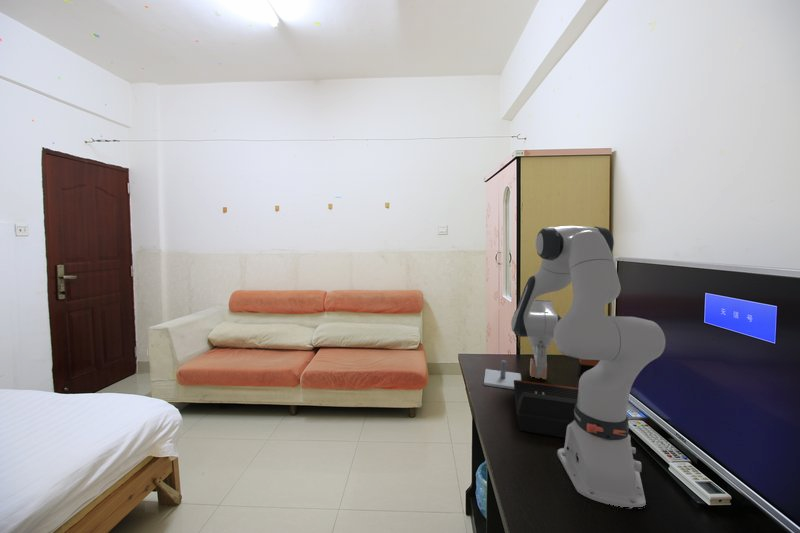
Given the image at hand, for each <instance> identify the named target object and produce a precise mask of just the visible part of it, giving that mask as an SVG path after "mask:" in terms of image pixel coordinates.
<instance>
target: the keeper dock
mask: <svg viewBox="0 0 800 533" xmlns="http://www.w3.org/2000/svg"><path fill="white" fill-rule="evenodd" d="M483 380H484V381H483V386H488V387H495V388H502V389H509V390H514V380H520V381H522V374H521V373H520V372H519V373H518V372H512V371H507V360H504V359H502V360H500V370H498V369H489V368H485V371H484V379H483Z"/></svg>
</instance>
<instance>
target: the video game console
mask: <svg viewBox="0 0 800 533" xmlns="http://www.w3.org/2000/svg"><path fill="white" fill-rule="evenodd" d="M513 390H514V400H515V401H514V402H515V403H514V404H515V411H516V412H515V415H516V419H517V425H518V429H519V430H520V431H522V432H528V433H533V434H534V433H535V434H539V435H544V436H545V435H546V436H552V437H558V438H564V439H566V431H567V426H568V425H569V424H570V423H572V422H573V421H574V409H575V405H576V403H577V400H578V387H576V386H575V387H573V386H566V385H559V384H550V383H543V382H535V381H534V382H533V381H527V380H521V381H520V380H514V389H513Z"/></svg>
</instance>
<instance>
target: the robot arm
mask: <svg viewBox="0 0 800 533" xmlns="http://www.w3.org/2000/svg"><path fill="white" fill-rule="evenodd" d="M614 244H615V242H614V236H613V234H612V232H611V231H610V229H608V228H606V227H603V226H602V227H601V226H583V225H582V226H580V225H578V226H577V225H563V226H549V227H543V228H542V229H541V230H540V231H539V232H538V233H537V236H536V238H535V249H536V253H537V255H538V256H539V257H540V258H541V259H542V260H541V264H540V267H539V269H538V270H537V272H536V273H535V274H534V275H532V276H530V277H529V278H528V280H527V281H526V282H525V283H526V284H525V286H524V289H523V291H522V293H521V297H520V299H519V302H518V304H517V307H516V309H515V311H514V312H513V315H512V317H511V322H510V324H511V331H512V332H513V333H514V334H515V335H517V336H518V337H520V338H522V337H523V338H524V337H525V338H527V337H528V342H529V343H530V344H531V347H532V354H533V357H534V359H535V363H536V367H537V375H540V376H541V375H542V370H543V368H546V363H547V358H548V357H547V355H548V352H547V349H548V348H549V346H551V345H552V344H553V343H552V342H554V344H555V347H556V348H557V350H558V351H559V352H560V353H561V354H562V355H563V356H567V357H571V358H575V359H578V360H579V359H586V360H600V361H599V363H598V364H597V365H596V366H595V367H593V368H592V369H590V370H588V371H586V372H584V373H583V374H582V376H581V377H580V376H579V377H580V378H579V381H578V387H577V388H578V400H577V403H576V405H575V409H574V421H573V422H572V423H570V424H569V425H568V426H567V431H566V438H564V439H565V440H564V441H565V442H564V447H561V448H559V449H557V452H556V455H557V458H558V459H559V460H560V462H561V464H562V466H563V468H564V470H565V471H566V473H567V476H568V477H569V480H571V483H572V485H573V486H574V488H575V490H576V492H577V493H579V494H580V495H582V496H584V497H586V498H587V499H590V500H593V501H595V502H598V503H601V504H602V503H603V504H605V505H609V504H610V506H613V505H614V506H613V507H618V506H620V507H619V508H623V507H629V508H628V509H632V508H633V507H643V506H645V505H646V506H647V504H646V502H647V500H646V497H645V492H644V488H643V483H642V479H641V474H640V473H641V472H642V467H643V466H642V462H641V461H639V460H636V459H634V455H633V454H636V452H637V449H636V447H633V446H632V442H631V438H632V437H631V435H630V434H629V428H630V425H629V417H628V415H627V414H628V405H629V398H630V393H631V389H632V386H633V384H634V382H635V380H636V378H637V377H638V375H639V374H640V372H641V371H642V370H643V369H644V368H645V367H646V366H647V365H648V364H650V362H652V361H654V360H656V359H658V358H659V357H661V355H662V354H663V353H664V352H665V351H664V350H665V348H666V336H665V333H664V331H663V329H662V327H660V326H659V324H658V323H656V322H655V321H653V320H649V319H645V318H641V317H636V316H621V315H620V316H618V315H617V316H616V315H614V316H613V315H607V314H606V311H605V310H606V309H605V307H606V305H608V304H610V303H612V302H613V301H615V300H616V299H617V298H618V297H619V295H620V293H621V290H622V288H621V286H622V285H621V283H620V279H619V275H618V270H617V267H616V262H615V260H614V256H613V253H612V252H613V250H614ZM570 284H572V292H573V295H572V296H573V297H572V298H573V299H572V302H571V305H570V308H569V310H568V311H567V313H566V314H565V315H564V316H563V317H561V316H560V315H559V314H558V313H556V312H555V310H554V303H553V302H552V301H551V300H543V299H540V300H539V299H537V298H538V297H540V296H543V295H546V294H550V293H553V292H557V291H561V290H563V289H565V288H567V287H568V286H569V285H570Z"/></svg>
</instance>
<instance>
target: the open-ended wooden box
mask: <svg viewBox="0 0 800 533" xmlns="http://www.w3.org/2000/svg"><path fill="white" fill-rule="evenodd" d="M529 360H530V362H529V363H530V365H529V376H531V377H530V378H532V377H535V378H534V379H540V378H542V380H547V372H548V363H547V362H546V368H543V370H542V375H541V376H540V375H537V367H536V363H535V359H534V358H532V357H531V358H530V359H529Z"/></svg>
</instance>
